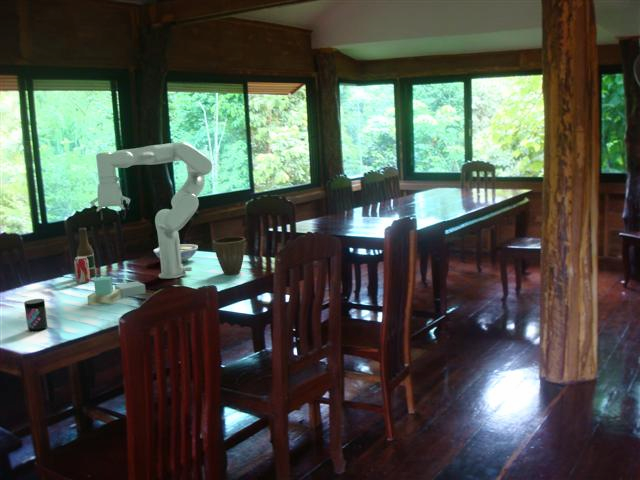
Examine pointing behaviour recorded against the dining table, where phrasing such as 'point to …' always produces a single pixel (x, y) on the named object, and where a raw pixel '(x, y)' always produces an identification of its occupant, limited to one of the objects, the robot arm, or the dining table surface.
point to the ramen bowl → (182, 251)
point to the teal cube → (103, 285)
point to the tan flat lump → (104, 298)
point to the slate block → (131, 288)
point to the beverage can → (82, 269)
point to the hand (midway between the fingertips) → (112, 219)
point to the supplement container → (36, 315)
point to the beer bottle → (86, 251)
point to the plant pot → (230, 254)
